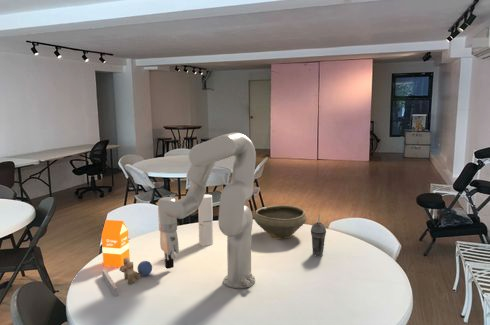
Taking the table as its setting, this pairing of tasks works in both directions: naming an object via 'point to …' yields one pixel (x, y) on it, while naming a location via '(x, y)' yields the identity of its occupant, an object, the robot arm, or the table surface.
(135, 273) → the pin front
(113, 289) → the rail
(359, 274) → the table surface
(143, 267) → the ball
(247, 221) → the robot arm
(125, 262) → the pin
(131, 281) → the pin
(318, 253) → the beverage cup
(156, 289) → the table surface
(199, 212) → the cylindrical container
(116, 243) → the orange juice
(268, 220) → the bowl
